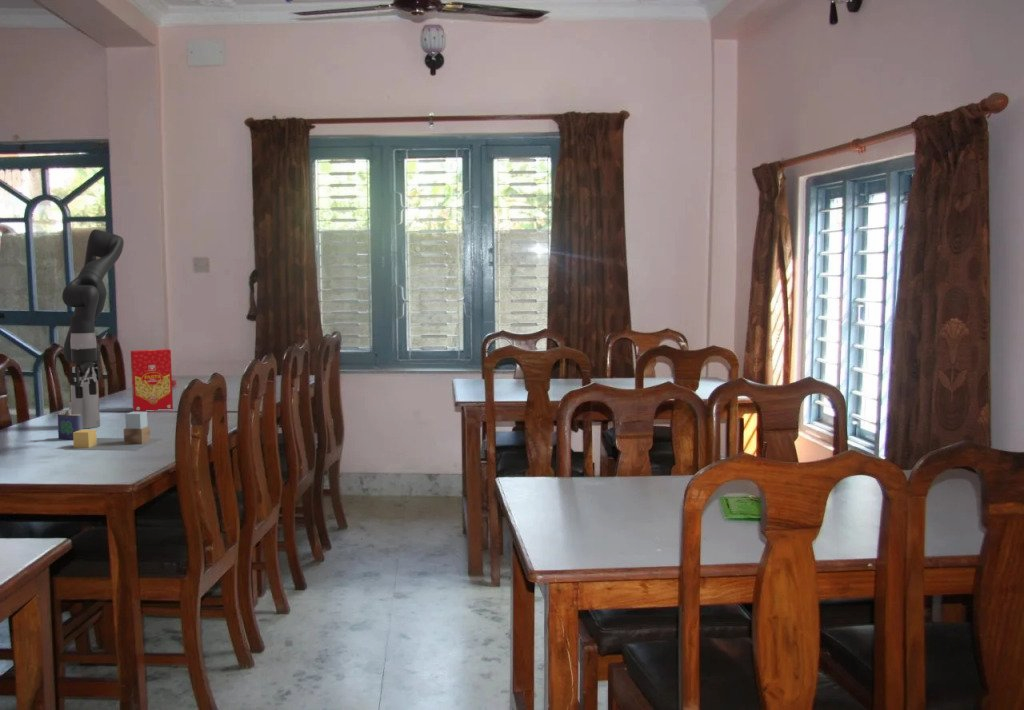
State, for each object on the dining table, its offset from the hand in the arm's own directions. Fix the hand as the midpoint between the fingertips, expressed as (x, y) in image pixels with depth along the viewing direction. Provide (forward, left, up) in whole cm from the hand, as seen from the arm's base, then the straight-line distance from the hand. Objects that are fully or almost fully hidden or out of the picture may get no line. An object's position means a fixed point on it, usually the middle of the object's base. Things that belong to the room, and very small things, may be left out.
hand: (86, 396), depth 285 cm
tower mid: (+13, +6, -11) cm, 19 cm away
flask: (-13, +11, -17) cm, 24 cm away
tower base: (+13, +6, -16) cm, 22 cm away
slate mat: (+7, +3, -17) cm, 19 cm away
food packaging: (-14, +75, -17) cm, 78 cm away
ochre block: (-1, -1, -16) cm, 16 cm away
